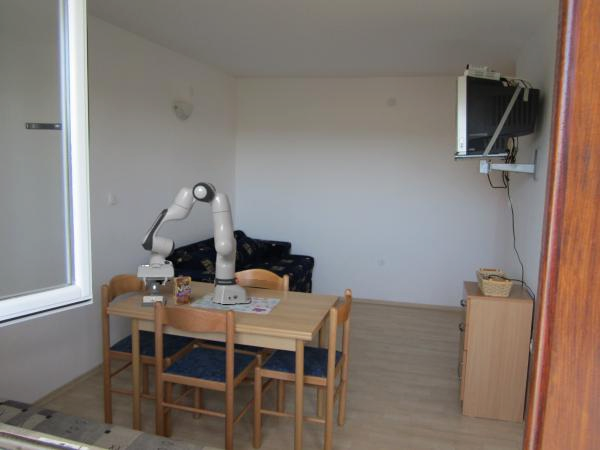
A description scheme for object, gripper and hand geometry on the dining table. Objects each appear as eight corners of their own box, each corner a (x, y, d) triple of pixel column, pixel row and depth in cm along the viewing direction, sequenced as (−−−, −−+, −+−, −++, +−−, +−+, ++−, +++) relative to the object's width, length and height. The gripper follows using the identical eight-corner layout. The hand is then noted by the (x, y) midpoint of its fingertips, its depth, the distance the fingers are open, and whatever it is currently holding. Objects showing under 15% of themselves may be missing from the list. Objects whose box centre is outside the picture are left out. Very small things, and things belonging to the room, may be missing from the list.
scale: (166, 300, 264) (166, 291, 264) (164, 306, 252) (164, 297, 251) (144, 301, 262) (144, 291, 261) (141, 307, 250) (141, 297, 249)
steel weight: (159, 296, 261) (160, 282, 260) (158, 298, 256) (159, 284, 255) (150, 296, 260) (150, 282, 259) (149, 298, 255) (149, 284, 255)
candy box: (175, 305, 255) (175, 278, 254) (172, 303, 259) (173, 277, 257) (190, 303, 260) (191, 277, 259) (188, 302, 264) (188, 275, 262)
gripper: (137, 261, 262) (134, 282, 253) (174, 262, 266) (173, 282, 257) (138, 268, 266) (136, 288, 258) (175, 268, 270) (173, 288, 262)
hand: (154, 285), depth 257 cm, fingers open, 8 cm apart
